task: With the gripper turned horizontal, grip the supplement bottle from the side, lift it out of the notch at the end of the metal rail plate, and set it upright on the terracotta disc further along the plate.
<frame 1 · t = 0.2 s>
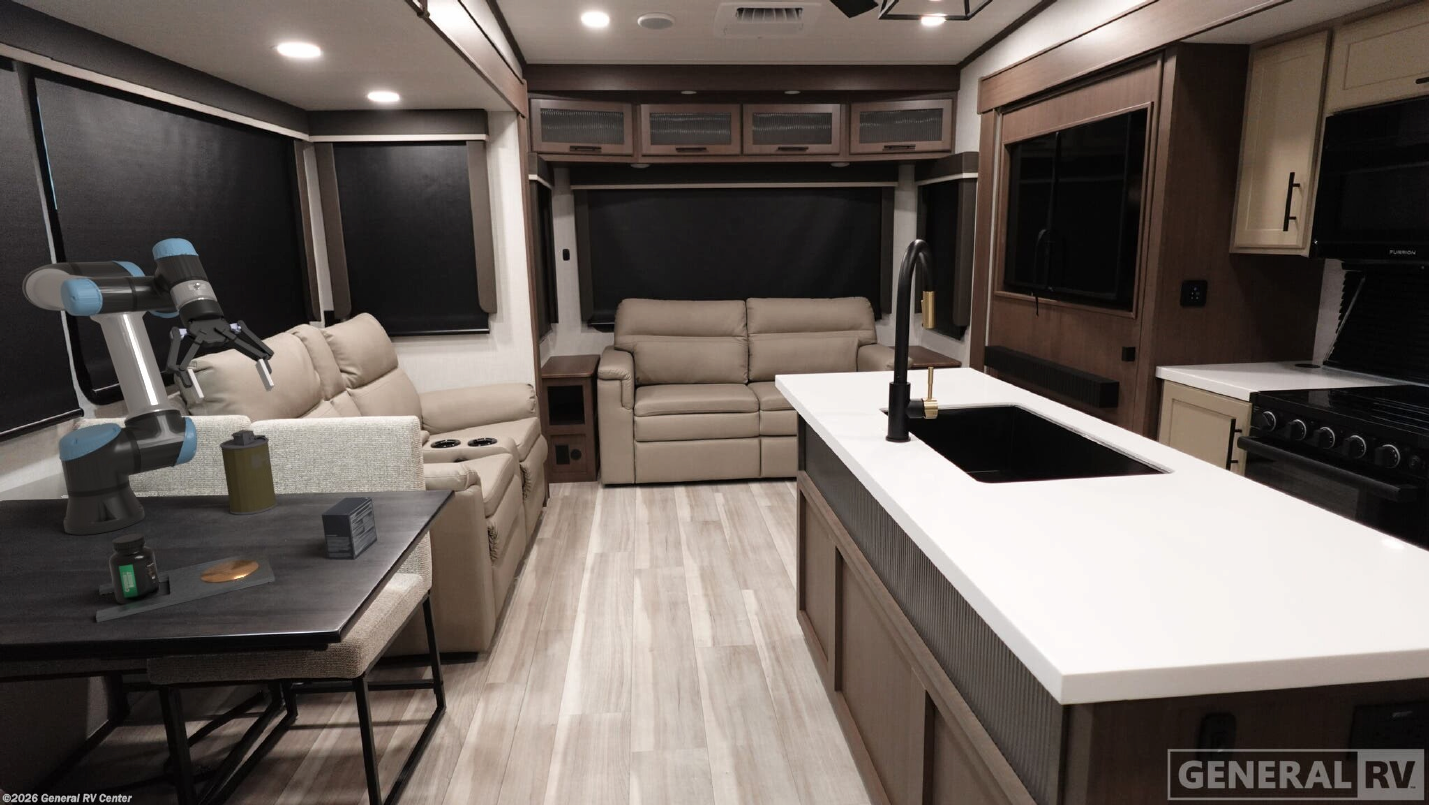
hand: (236, 394, 159), 35 cm above the table, tool tilted 35°, fingers open, 13 cm apart
rail plate: (189, 585, 151), on the table
canister: (254, 508, 194), on the table
supplement bottle: (139, 597, 146), on the table
small box: (352, 550, 168), on the table
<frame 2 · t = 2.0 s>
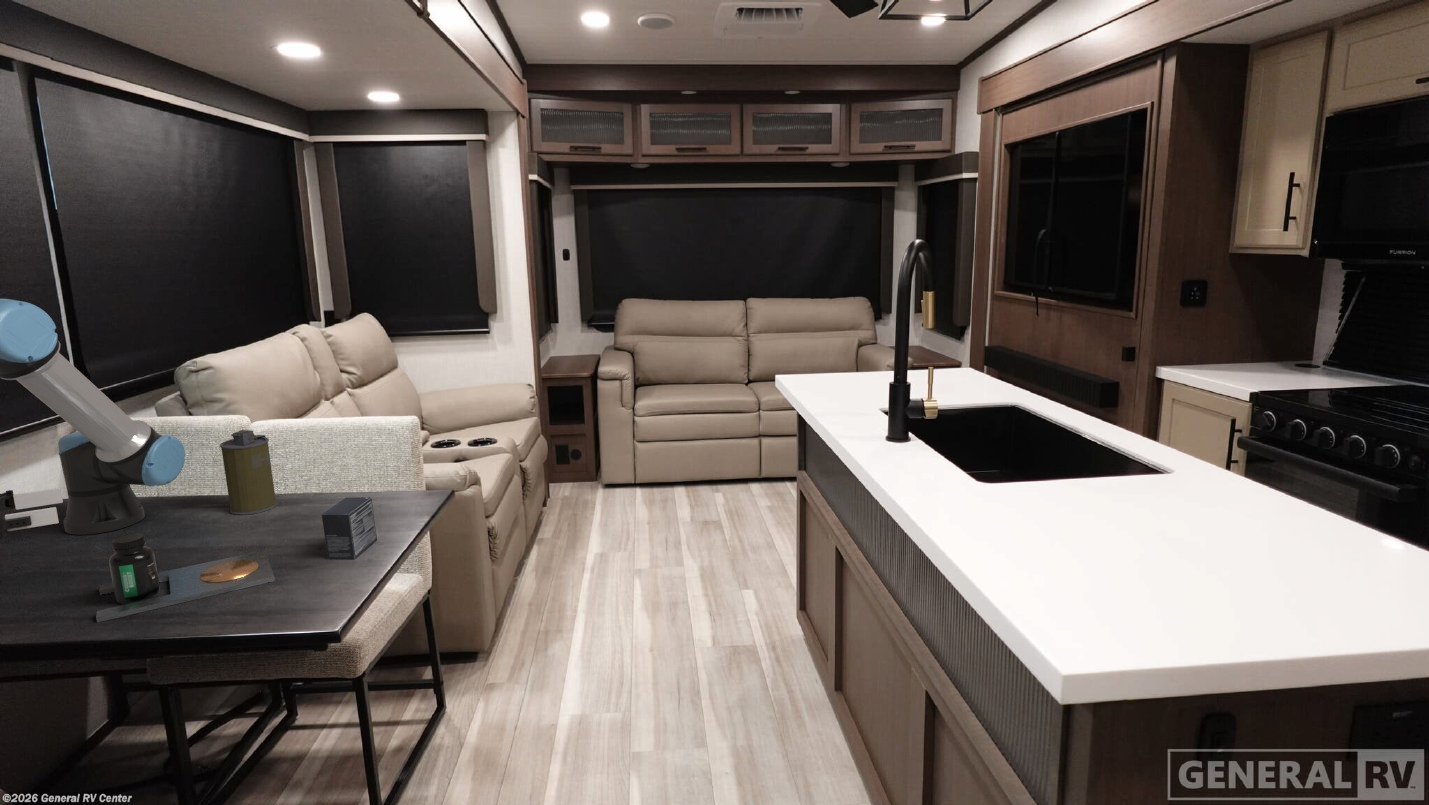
hand: (59, 504, 137), 20 cm above the table, tool horizontal, fingers open, 13 cm apart
nothing on the table moved.
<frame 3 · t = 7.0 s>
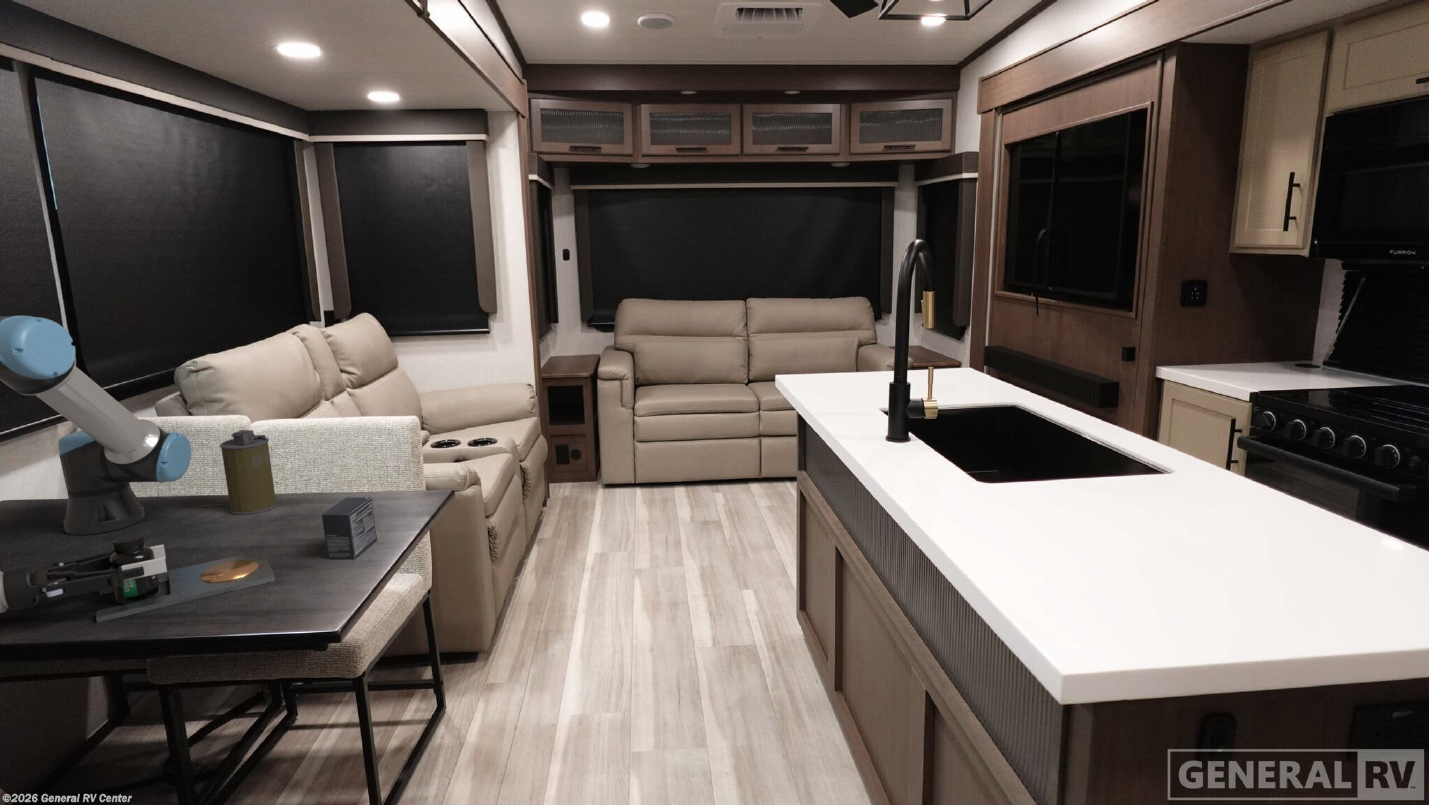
hand: (165, 557, 148), 7 cm above the table, tool horizontal, fingers closed on supplement bottle, 7 cm apart
supplement bottle: (139, 597, 146), on the table, touching gripper
everything else where it was.
when the fingers open (9 cm above the table, at t = 12.5 s): supplement bottle drops 1 cm, resting on rail plate.
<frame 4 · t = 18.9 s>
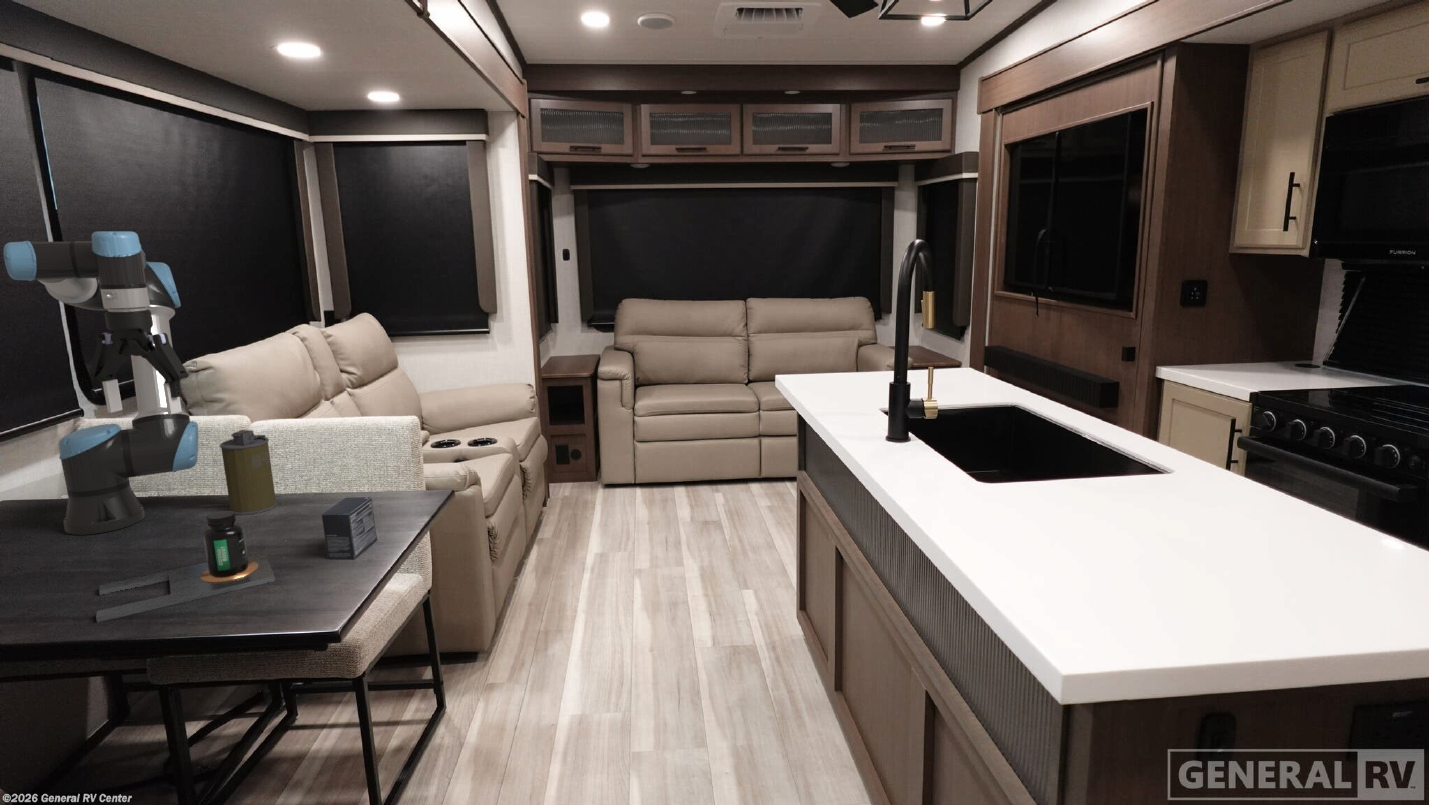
hand: (145, 412, 158), 32 cm above the table, tool pointing down, fingers open, 13 cm apart
supplement bottle: (229, 571, 155), point 1 cm above the table, touching rail plate
everything else where it was.
at the end: supplement bottle 0.1 cm from the target spot on the rail plate, point 1.0 cm above the rail plate's base; supplement bottle tilted 0°; the gripper is holding nothing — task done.
